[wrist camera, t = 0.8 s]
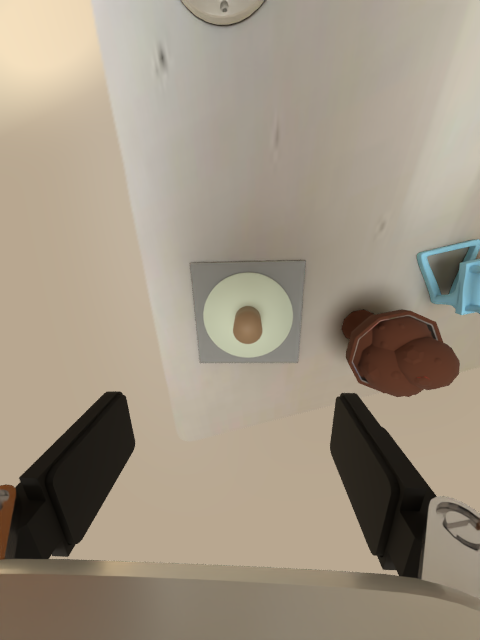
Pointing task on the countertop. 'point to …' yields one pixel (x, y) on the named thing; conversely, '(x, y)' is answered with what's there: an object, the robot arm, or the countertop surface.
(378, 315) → the ice cream bowl
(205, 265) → the mat
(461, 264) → the chair
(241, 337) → the lid
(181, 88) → the countertop surface
